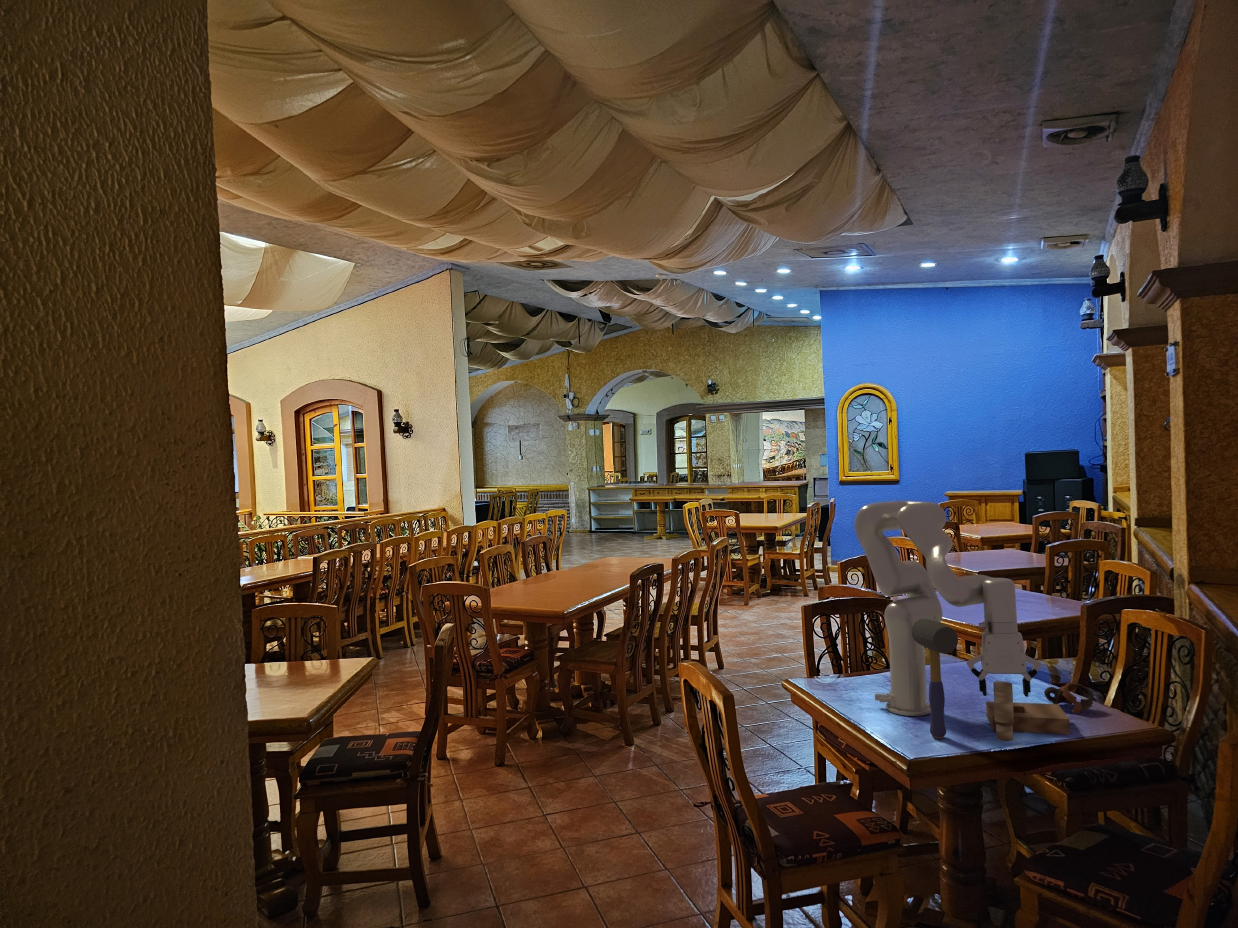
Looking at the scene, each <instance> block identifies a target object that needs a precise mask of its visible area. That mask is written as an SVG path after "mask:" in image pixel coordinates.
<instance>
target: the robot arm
mask: <svg viewBox="0 0 1238 928" xmlns="http://www.w3.org/2000/svg"><path fill="white" fill-rule="evenodd" d="M946 521H947V515H946V512H945V510H944V509H943V507H941V506H940V505H939V504H937V503H935V502H933V501H932V502H931V501H916V500H915V501H914V500H892V501H881V502H872V503H868V504H866V505H864V506H862V507H861V508H860V509H859V510H858V512H857V513H856V516H855V519H854V531H855V535H856V538H857V540H858V542H859V544H860V545H861V548H862V549H863V552H864V554H865V556H866V559H867V560H868V561H867V562H868V564H869V567H870V569H871V572H872V575H873V577H874V580H875V583H876V585H877V587H878V590H879V591H880V593H881V594H883V595H884V596H887V597H896V596H897V597H898V596H902V595H903V596H904V595H906V596H907V597H906V598H899V599H896V600H894V601H892V602H890V603H889V604H888V605H886V608H885V610H884V616H883V617H884V623H885V628H886V632H887V636H888V648H889V668H890V669H889V670H890V671H889V672H890V690H889V692H886V693H883V694H882V693H874V700H875V702H876V701H877V702H879V703H886V704H885V708H886V711H889V712H890V713H892V714H895V715H898V716H899V715H900V716H908V717H909V716H911V717H918V716H920V717H921V716H926V715H931V709H930V703H929V702H927V678H926V677H927V676H926V655H925V654H926V653H925V647H924V646H922V645H920V644H919V643H917V642H916V641H915V640H914V639H913V637H912V633H911V631H912V627H913V624H914V623H915V622H916V621H918V620H919V619H930V620H934V621H938V622H940V623H941V622H942V620H943V607H942V604H941V601H940V599H939V597H938V594H939V595H940V596H941V597H942V598H943V600H945V602H947V603H948V604H950V605H951V606H954V607H957V608H962V607H967V606H968V607H969V606H973V605H980V604H983V613H984V614H983V616H984V617H983V618H984V619H983V622H982V621H981V622H978V628H979V629H983V630H984V631H982V634H981V644H980V654H978V655H976V656H974V657H972V658H970V659H968V660H967V661H966V662H965V663H966V665H967V667H968V668H969V670H970V672H971V673H972V674H973V675H974V676H975V677H976V678H977V679H978V685H979V686H978V687H979V688H978V689H979V693H980V692H981V693H982V695H983V697H986V696H987V695H988V693H987V680H986V677H987V676H988V674H991V675H997V674H998V675H1021V676H1022V677H1023V678H1022V693H1023V695H1024V697H1025V698H1028V697H1029V694H1031V692H1032V690H1031V681H1032V679H1033V678H1034V677H1036V675H1037V674H1038V671H1039V670H1040V668H1041V666H1042V663H1041V662H1040V660H1036V659H1034V658H1032V657H1030V656H1028V655H1026V649H1025V643H1024V639H1023V635H1022V633H1021V632H1019V631H1018V619H1017V618H1018V616H1017V600H1016V586H1015V582H1014V581H1013V580H1012V579H1011V578H1006V577H991V576H989V575H984V574H971V575H963V576H959V577H958V576H957V574H956V573H955V572H954V570H953V569H952V568H951V567H950V566H949V564H948V563H947V560H946V556H947V555H948V553H949V552H951V550H952V547H953V545H954V544H953V543H954V542H953V540H952V538H951V537H950V536H949V535H948V534H947V532H946V531H945V530H944V529H943V528H944V527H945V525H946ZM897 530H898V531H899V530H902V531H903V532H904V534H905V535H906V537H907V538H908V539H909V540H910V541H911V542H912V544H913V545H914V546H915V547H916V548H917V549H918V551H919V552H920V553H921V555H922V556H923V557H924V558H925V567H924V565H922V564H921V563H920V562H917V561H915V560H904V561H902V560H901V559H900V557H899V555H898V552H897V549H896V547H895V546H894V543H893V542H892V541H891V539H889V538H888V537H887V536H886V535H885V534H884V532H886V531H887V532H888V531H897ZM936 591H937V592H936ZM937 593H938V594H937ZM980 662H981V669H980V670H977V669H976V667H975V665H976V664H978V663H980ZM1027 663H1028V664H1031V665H1032V668H1030V669H1029V671H1028V672H1027V669H1028V668H1027Z"/></svg>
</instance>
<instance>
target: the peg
mask: <svg viewBox="0 0 1238 928" xmlns="http://www.w3.org/2000/svg"><path fill="white" fill-rule="evenodd" d="M992 687H993V688H992V689H993V702H994V715H995V719H994V722H995V723H996V731H995V732H996V739H997V738H998V739H997V740H999V739H1000V740H999V741H1002V740H1004V741H1003V742H1011V741H1010V740H1012V741H1013V740H1014V732H1013V725H1014V714H1013V702H1014V695H1013V693H1014V690H1013V683H1012V682H1010V681H1003V680H996V681H994V682H993V685H992Z"/></svg>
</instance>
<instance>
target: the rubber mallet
mask: <svg viewBox="0 0 1238 928" xmlns="http://www.w3.org/2000/svg"><path fill="white" fill-rule="evenodd" d="M911 633H912V637H913V639H914V640H915V641H916V642H917V643H919V644H920V645H922V646H924V648H926V649H928V650H929V670H930V671H929V672H930V673H929V675H930V679H929V680H930V681H929V686H928V688H929V689H928V703H929V704H930V709H931V713H930V727H929V733H930V735H931V736H932V738H934V739H939V740H940V739H944V738H945V736H946V734H947V728H946V727H947V726H946V725H945V703H946V702H945V701H946V700H945V688H944V684H943V681H942V675H941V655H940V654H950V653H952V652H954V650H955V649H957V646H958V644H959V637H958V633H957V631H956V630H955V629H954V628H952V627H950V626H949V625H947V624H944V623H941V622H938V621H934V620H930V619H919V620H918V621H916V622H915V623H914V624H913V627H912V631H911Z"/></svg>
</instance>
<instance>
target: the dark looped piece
mask: <svg viewBox="0 0 1238 928" xmlns="http://www.w3.org/2000/svg"><path fill="white" fill-rule="evenodd" d="M1076 688H1077V689H1078V690H1079V692H1080V693H1083V694H1087V696H1088V698H1080V701H1077V696H1075V695H1074V694H1072V693H1071V691H1074V690H1075V689H1076ZM1043 694H1044V696H1045V698H1046V699H1047V700H1048V702H1051V704H1058V705H1059V704H1063V703H1064V704H1067V705H1074V706H1073V708H1072V711H1071V712H1072V713H1074V714H1076V715H1079V714H1080V713H1081V712H1083V711H1087V710H1088V709H1090V708H1092V707H1093V705H1094V700H1093V699H1094V695H1093V692H1092V691H1091V690H1090V689H1089V688H1088V687H1087V686H1084V685H1083V684H1080V683H1077V682H1067V683H1066V684H1065V685H1063V686H1060V688H1057V687H1054V686H1049V687H1046V688H1045V689H1044V693H1043ZM1051 694H1053V695H1054V696H1052V695H1051Z"/></svg>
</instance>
